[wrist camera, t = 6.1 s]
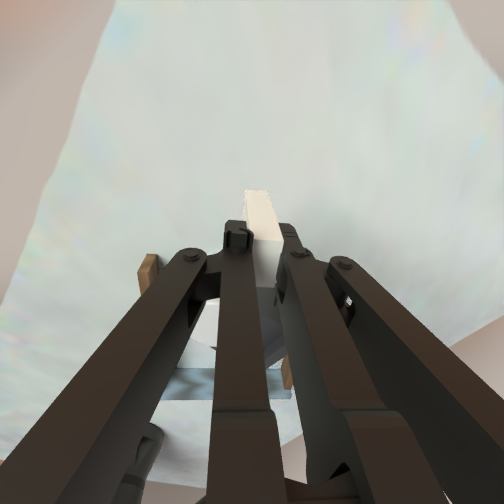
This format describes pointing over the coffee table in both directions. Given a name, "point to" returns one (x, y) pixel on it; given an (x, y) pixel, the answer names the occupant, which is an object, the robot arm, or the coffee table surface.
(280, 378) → the bay
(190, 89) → the coffee table surface
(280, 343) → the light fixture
